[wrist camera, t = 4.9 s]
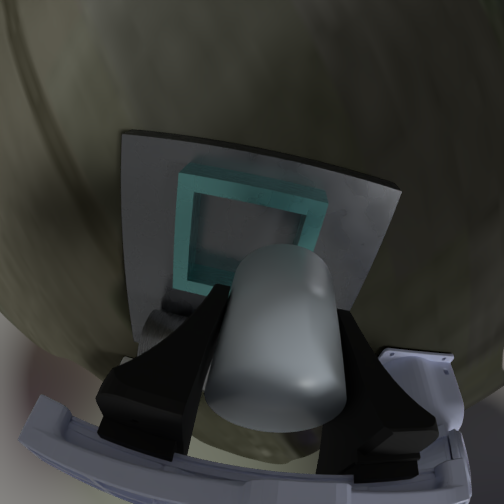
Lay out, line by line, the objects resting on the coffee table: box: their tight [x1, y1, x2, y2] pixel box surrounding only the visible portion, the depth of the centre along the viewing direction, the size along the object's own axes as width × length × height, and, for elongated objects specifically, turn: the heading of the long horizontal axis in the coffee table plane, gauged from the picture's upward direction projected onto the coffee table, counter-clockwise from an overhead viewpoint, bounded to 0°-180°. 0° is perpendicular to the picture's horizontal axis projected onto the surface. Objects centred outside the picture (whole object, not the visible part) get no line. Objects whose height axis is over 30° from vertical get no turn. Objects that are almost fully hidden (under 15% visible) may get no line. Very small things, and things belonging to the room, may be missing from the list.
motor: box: [121, 130, 402, 391], centre depth 21 cm, size 18×20×7 cm
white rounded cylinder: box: [204, 244, 347, 432], centre depth 12 cm, size 5×5×6 cm
